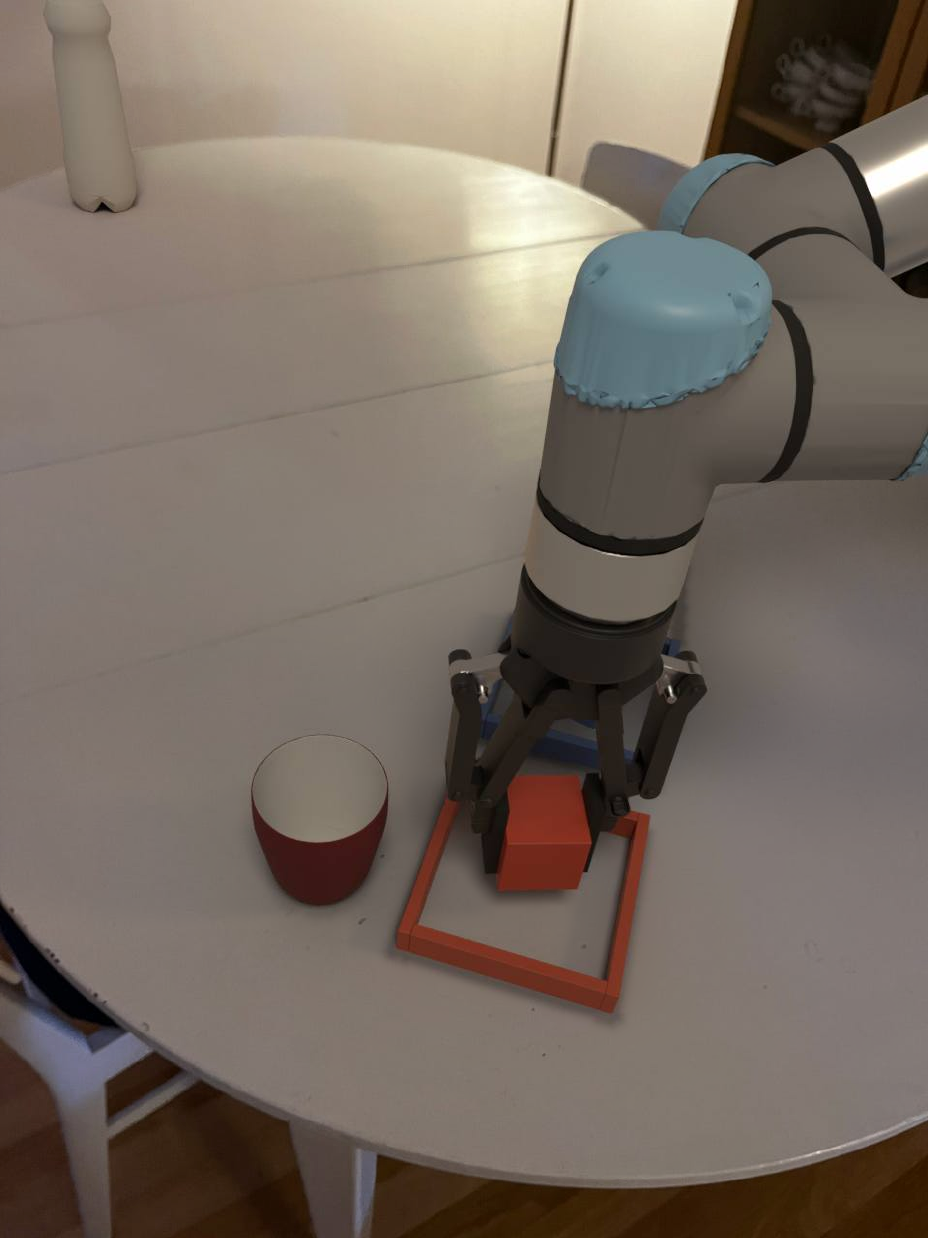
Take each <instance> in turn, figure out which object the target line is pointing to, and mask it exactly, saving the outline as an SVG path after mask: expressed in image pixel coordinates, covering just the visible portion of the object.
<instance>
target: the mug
mask: <svg viewBox="0 0 928 1238" xmlns="http://www.w3.org/2000/svg"><path fill="white" fill-rule="evenodd" d="M250 794H251V796H250V798H251V799H250V800H251V817H252V822H253V828H254V831H255V834H256V837H257V840H258V842H259V845H260V848H261V850H262V853H263V855H264V857H265V860H266V862H267V865H268V867H269V869H270V872H271V874H272V876H273V877H274V879H275V881H276V882H277V884H278V885H279V886H280V887H281V889H282V890H283V891H285V892H286V893H287V894H288V895H290V896H291V897H292V898H294V899H296V900H298V901H300V902H302V903H304V904H307V905H310V906H311V905H312V906H328V905H332V904H336V903H338V902H340V901H341V900H344V899H345V898H347V897H348V896H350V895H351V894H352V893H354V892H355V891H356V890H357V889H358V888H359V887H360V886H361V885H362V883H363V882H364V881H365V879H366V878H367V876H368V874H369V872H370V870H371V868H372V865H373V863H374V860H375V857H376V855H377V852H378V849H379V846H380V843H381V842H382V837H383V835H384V832H385V829H386V828H385V827H386V824H387V819H388V812H389V811H388V810H389V781H388V776H387V772H386V770H385V768H384V766H383V764H382V763H381V761H380V760H379V758H378V757H377V756H376V755H375V754H374V752H372V751H371V750H370V749H368V748H367V747H366V746H364V745H363V744H361V743H359V742H357V741H355V740H353V739H351V738H347V737H343V736H340V735H335V734H311V735H305V736H300V737H297V738H294V739H291V740H289V741H287V742H284V743H283V744H280V745H279V746H278V747H276V748H274V749H273V750H272V751H271V752H270V753H268V754H267V755H266V756H265V758H264V759H262V761H261V762H260V764H259V765H258V767H257V768H256V770H255V772H254V775H253V778H252V783H251V789H250Z"/></svg>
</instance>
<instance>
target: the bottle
mask: <svg viewBox="0 0 928 1238" xmlns="http://www.w3.org/2000/svg"><path fill="white" fill-rule="evenodd" d="M42 17H43V19H44V22H45V24H46V28H47V30H48V31H49V33H50V35H51V36H52V52H51V53H52V55H51V57H52V64H53V72H54V79H55V89H56V96H57V105H58V111H59V120H60V126H61V127H60V128H61V136H62V143H63V152H62V159H63V165H64V169H65V175H66V180H67V184H68V188H69V195H70V197H71V198H72V200H73V201H74V202H75V203H76V204H77V205H78V207H79V208H81V209H82V210H84V211H85V212H91V213H94V212H95V211H97V210H98V209H99V208H100V205H102V204H101V203H103V204H104V205H106V207H107V208H109V209H110V210H111V211H112V212H113V213H120V212H125V211H127V210H128V209H130V208H131V207H132V205H133V203H134V201H135V199H136V195H137V187H138V186H137V185H138V180H137V170H136V161H135V157H134V155H133V154H134V153H133V151H132V148H131V144H130V138H129V133H128V127H127V122H126V121H127V120H126V115H125V111H124V104H123V99H122V94H121V92H122V91H121V87H120V82H119V75H118V70H117V64H116V58H115V55H114V53H113V50H112V49H113V48H112V46H111V43H110V40H109V34H110V33H111V29H112V16H111V15H110V13H109V11H108V9H107V7H106V5H105V3H104V1H103V0H46V1H45V5H44V9H43V11H42Z"/></svg>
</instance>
